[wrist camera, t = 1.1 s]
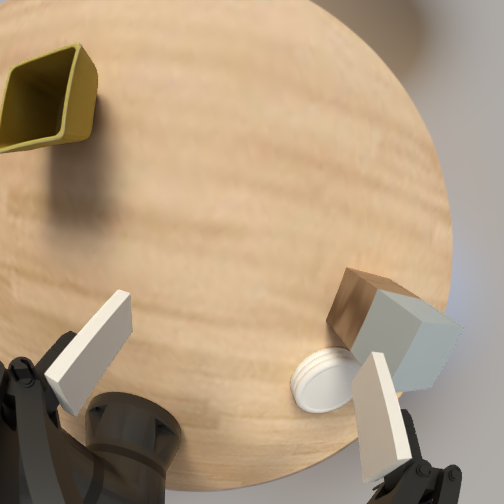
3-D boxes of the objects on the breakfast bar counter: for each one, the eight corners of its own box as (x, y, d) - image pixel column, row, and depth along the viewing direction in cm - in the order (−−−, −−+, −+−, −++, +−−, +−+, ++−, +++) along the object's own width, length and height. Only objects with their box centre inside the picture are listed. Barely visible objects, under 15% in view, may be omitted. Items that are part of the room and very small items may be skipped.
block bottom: (369, 326, 34) (396, 353, 27) (326, 320, 32) (350, 350, 25) (389, 278, 32) (422, 299, 25) (346, 267, 31) (377, 289, 24)
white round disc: (303, 342, 33) (312, 358, 29) (365, 347, 35) (377, 360, 31) (280, 398, 35) (285, 415, 32) (338, 398, 37) (347, 413, 33)
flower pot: (42, 157, 23) (-7, 154, 14) (51, 87, 21) (9, 66, 12) (105, 149, 24) (63, 138, 15) (114, 74, 22) (82, 40, 13)
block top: (396, 353, 27) (429, 388, 20) (350, 350, 25) (382, 393, 19) (422, 299, 25) (464, 327, 19) (377, 289, 24) (422, 321, 17)
